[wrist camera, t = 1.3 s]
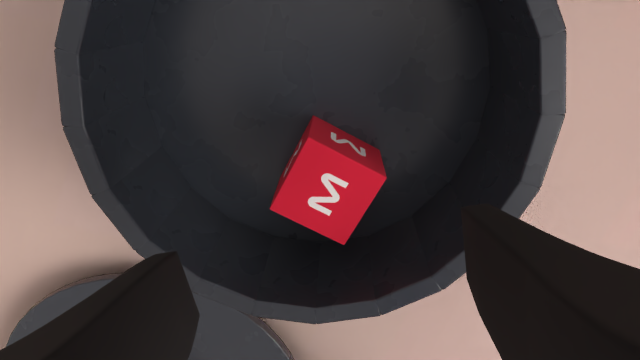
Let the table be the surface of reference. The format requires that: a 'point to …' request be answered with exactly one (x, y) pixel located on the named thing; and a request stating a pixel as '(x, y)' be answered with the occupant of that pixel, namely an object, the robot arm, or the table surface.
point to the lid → (211, 336)
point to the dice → (329, 181)
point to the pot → (289, 125)
